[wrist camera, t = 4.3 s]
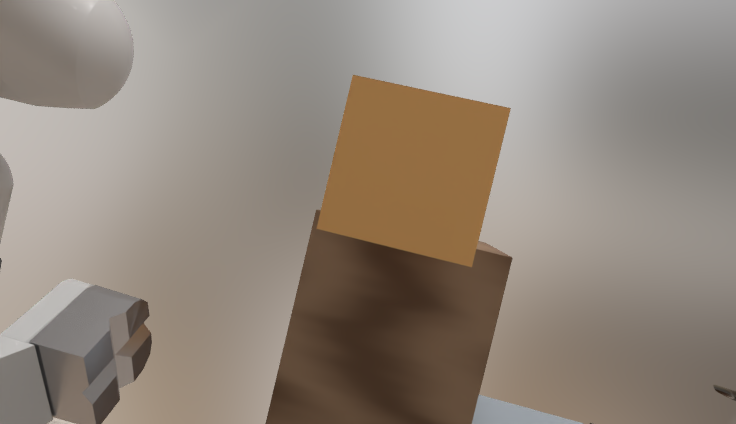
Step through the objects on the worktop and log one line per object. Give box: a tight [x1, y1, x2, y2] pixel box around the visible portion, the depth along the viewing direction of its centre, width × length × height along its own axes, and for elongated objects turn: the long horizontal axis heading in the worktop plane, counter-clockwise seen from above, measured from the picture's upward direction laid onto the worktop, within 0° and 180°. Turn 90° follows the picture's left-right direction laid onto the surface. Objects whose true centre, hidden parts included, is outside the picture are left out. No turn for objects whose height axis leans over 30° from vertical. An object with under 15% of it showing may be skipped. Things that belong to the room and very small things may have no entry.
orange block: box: [317, 75, 510, 267], centre depth 24 cm, size 4×24×4 cm, turn 172°
